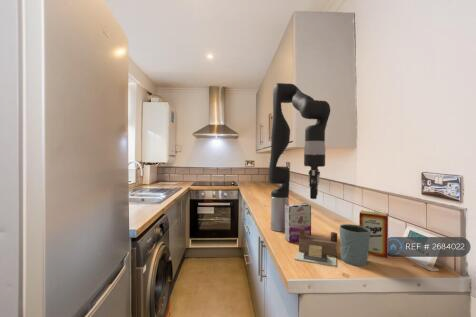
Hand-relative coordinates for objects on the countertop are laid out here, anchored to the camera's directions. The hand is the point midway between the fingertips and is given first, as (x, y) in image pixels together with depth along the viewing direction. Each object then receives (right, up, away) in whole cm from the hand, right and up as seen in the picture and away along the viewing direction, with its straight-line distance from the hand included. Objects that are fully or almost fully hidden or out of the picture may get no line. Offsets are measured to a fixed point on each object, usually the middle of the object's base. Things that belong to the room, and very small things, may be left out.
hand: (314, 197), depth 88 cm
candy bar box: (-1, -23, +20) cm, 30 cm away
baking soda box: (+26, -23, +6) cm, 35 cm away
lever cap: (0, -22, -1) cm, 22 cm away
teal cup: (+14, -23, -3) cm, 27 cm away
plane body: (+3, -23, +6) cm, 24 cm away
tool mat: (0, -23, -2) cm, 23 cm away
